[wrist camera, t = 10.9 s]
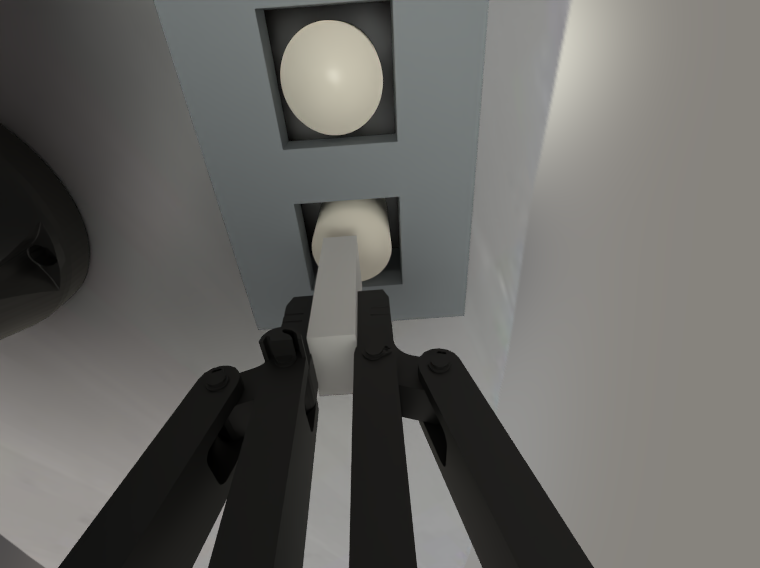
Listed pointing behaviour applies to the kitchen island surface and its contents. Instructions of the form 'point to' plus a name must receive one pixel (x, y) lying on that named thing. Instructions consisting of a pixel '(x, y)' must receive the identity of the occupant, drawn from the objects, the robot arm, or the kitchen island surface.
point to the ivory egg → (357, 231)
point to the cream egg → (331, 77)
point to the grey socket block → (338, 149)
